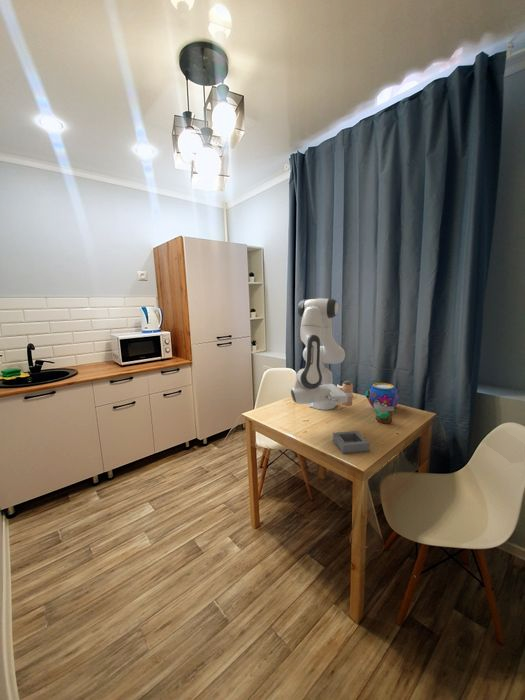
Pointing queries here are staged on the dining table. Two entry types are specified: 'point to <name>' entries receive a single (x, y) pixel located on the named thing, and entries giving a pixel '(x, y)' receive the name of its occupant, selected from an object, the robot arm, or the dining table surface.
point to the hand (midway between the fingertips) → (349, 391)
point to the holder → (350, 442)
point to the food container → (383, 412)
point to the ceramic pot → (383, 394)
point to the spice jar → (347, 388)
